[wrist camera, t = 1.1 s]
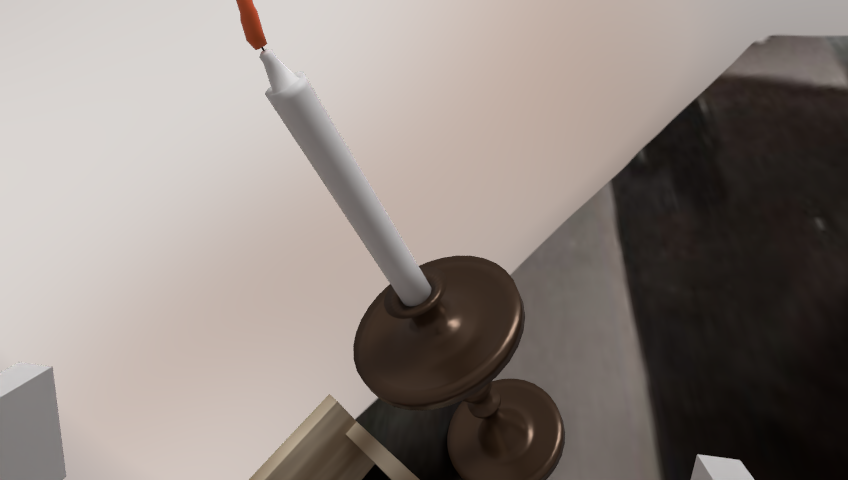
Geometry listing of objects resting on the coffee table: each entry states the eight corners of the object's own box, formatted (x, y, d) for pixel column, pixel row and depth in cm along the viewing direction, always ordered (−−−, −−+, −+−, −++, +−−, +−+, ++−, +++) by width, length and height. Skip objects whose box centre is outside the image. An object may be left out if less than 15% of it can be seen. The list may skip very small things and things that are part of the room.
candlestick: (540, 354, 43) (333, -96, 23) (606, 470, 34) (361, -103, 14) (427, 409, 43) (129, 18, 23) (462, 537, 34) (29, 82, 14)
